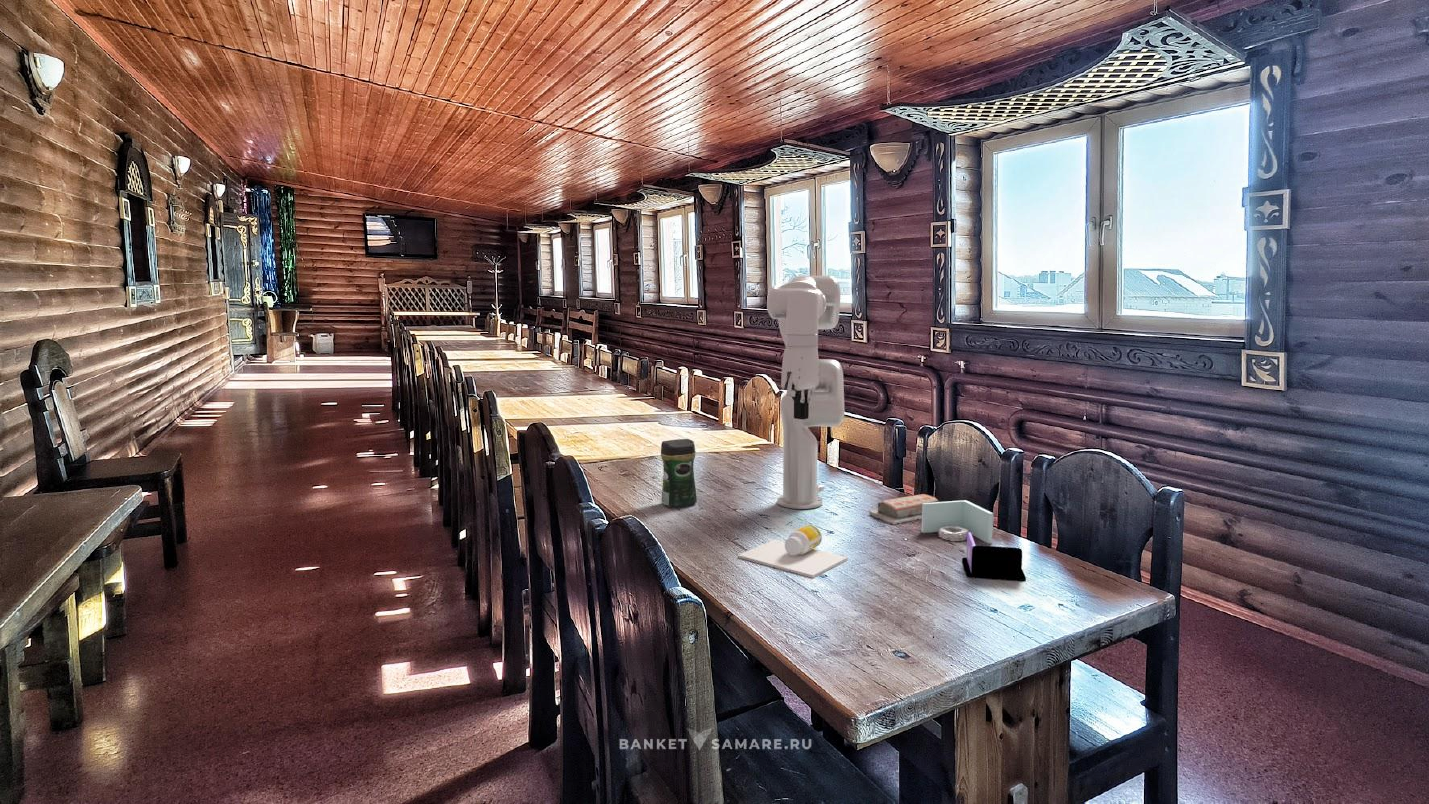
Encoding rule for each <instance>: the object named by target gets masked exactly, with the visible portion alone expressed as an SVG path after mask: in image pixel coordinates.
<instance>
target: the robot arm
mask: <svg viewBox="0 0 1429 804" xmlns="http://www.w3.org/2000/svg"><path fill="white" fill-rule="evenodd" d="M840 306H841V286H840V283H839V281H838V279H837V278H836V277H835V276H833V275H798V276H796V277H793V278H792V279H791V280H790V281H789V282H786V283H781V284H776V285H773V286H772V287H771V288H770V290H769V291H768V295H767V300H766V309H767V312H768V313H767V314H768V315H769V317H771V319H773V320H778V327H779V332H780V335H781V337H782V340H783V343H784V347H785V348H784V351H783V356H782V364H781V365H782V366H781V379H780V380H781V381H780V383H781V384H780V385H781V389H782V390H785V391H786V394H784V396H783V397H782V398H781V399H780V409H779V410H780V415H781V423H782V430H783V431H782V433H783V434H782V436H783V438H782V439H783V443H782V445H783V446H782V448H783V451H782V452H783V453H782V457H783V459H782V463H783V464H782V467H783V468H782V495H780V496H779V497H778V498H777V501H776V502H777V504H778V505H779V506H781V507H783V508H787V509H796V510H808V509H816V508H819V507H821V506H822V505H823V499H822V498H821V497H819V496H818V495H819V493H821V492H823V491H825V486H824V485H823V484H818V440H817V438H816V436H815V435H814V433H812V431H811V430H810V429H809V428H811V427H821V428H822V427H824V428H825V427H827V428H828V427H829V428H832V427H838V426H840V425H841V424H842V423H843V422H844V420H845V419H844V418H845V391H844V390H845V389H844V388H845V387H844V384H845V381H844V370H843V367H842V365H841V363H840V362H839V361H838V360H836V359H830V358H829V359H828V358H827V359H826V358H819V357H820V356H819V351H818V350H819V330H831V329H834V328H836V326H837V325H838V323H839V319H840Z"/></svg>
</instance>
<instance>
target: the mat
mask: <svg viewBox="0 0 1429 804" xmlns="http://www.w3.org/2000/svg"><path fill="white" fill-rule="evenodd" d="M737 558H738V559H742V560H745V559H746V560H745V561H750V562H753V563H756V564H761V565H764V566H766V567H767V566H768V567H770V568H774V567H775V569H779V570H782V571H786V572H789V571H791V572H790V573H793V572H794V574H796V573H797V574H796V575H801V576H804V577H808V578H813V579H814V578H816V577H818V576H820V575H822V574H824V573H826V572H827V571H829V570H831V569H833V568H835V567H838V566H839V565H841V564H843V563H845V562H847V561H848V556H847V557H846V556H842V555H839V554H835V553H830V552H826V551H821V550H818V549H815V548H814V549H812V550H810V551H808V552H807V553H805V554H803V555H791V554H789V553H788V552H787V551H786V549H785V541H781V540H778V539H773V540H770V541H767V542H766V543H763V544H761V545H759V546H755V547H754V548H751V549H749V550H746V551H744V552H742V553H740V554H737Z"/></svg>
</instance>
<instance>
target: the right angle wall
mask: <svg viewBox="0 0 1429 804" xmlns="http://www.w3.org/2000/svg"><path fill="white" fill-rule="evenodd" d="M993 526H994V513H993V512H991V511H990V510H988V509H985V508H984V507H982V506H980V505H977V504H975V503H973V502H971V501H969V500H966V499H964V500H952V501H947V500H946V501H938V502H934V503H922V519H921V531H920V532H921V533H922V534H925V533H926V534H928V533H938V538H941V539H942V540H946V541H948V540H949V541H951V542H959V541H961V542H963V541H966V540H967V533H968V532H971V534H972V536H974V537H976V538H977V539H979V540H981V541H982V542H985V543H986V544H993V529H994V527H993Z"/></svg>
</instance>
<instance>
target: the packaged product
mask: <svg viewBox="0 0 1429 804" xmlns="http://www.w3.org/2000/svg"><path fill="white" fill-rule="evenodd" d="M934 502H939V499H937V498H936V496H935V497H934V496H933V495H929V494H927V493H926V494H925V493H921V494H916V495H915V494H913V495H908V496H903V497H897V498H896V497H895V498H890V499H886V500H884V499H883V500H880V501H879V502H878V503H877V508H876V509H871V510H868V513H869V516H871V515H872V516H871V517H873V516H874V518H876V519H878V518H880V519H879V520H881V519H882V520H881V521H883V522H887V523H889V524H891V523H892V524H891V525H898V524H897V523H899V524H902V523H908V522H912V521H914V522H915V521H918V520H917V519H919V520H922V503H934Z"/></svg>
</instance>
